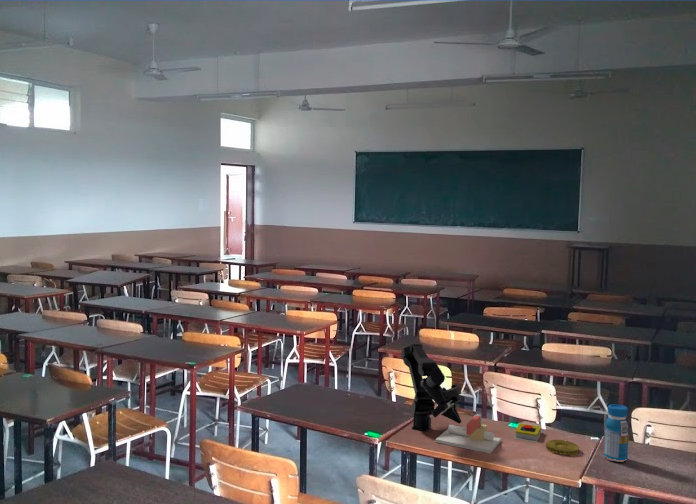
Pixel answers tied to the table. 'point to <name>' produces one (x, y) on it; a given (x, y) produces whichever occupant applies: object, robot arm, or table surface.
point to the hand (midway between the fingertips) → (460, 422)
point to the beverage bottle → (616, 433)
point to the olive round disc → (562, 447)
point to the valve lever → (473, 424)
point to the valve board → (469, 438)
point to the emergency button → (528, 432)
